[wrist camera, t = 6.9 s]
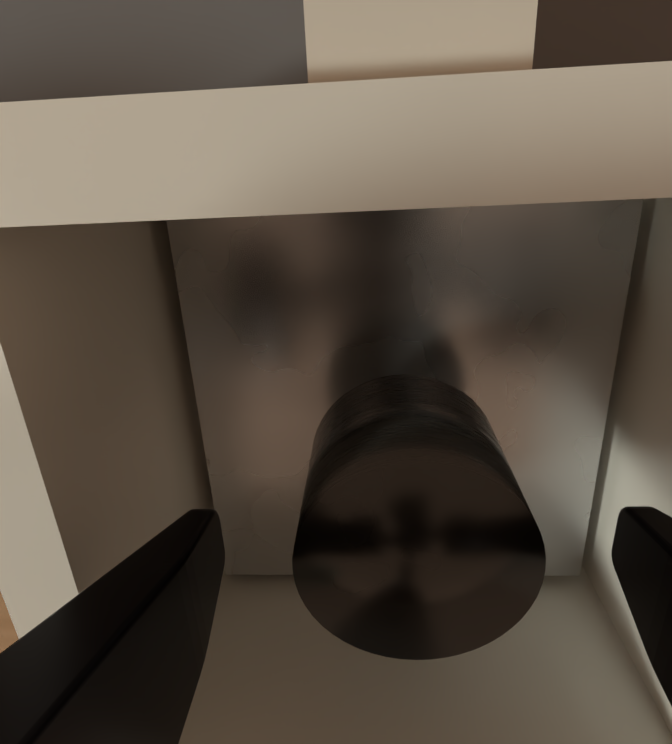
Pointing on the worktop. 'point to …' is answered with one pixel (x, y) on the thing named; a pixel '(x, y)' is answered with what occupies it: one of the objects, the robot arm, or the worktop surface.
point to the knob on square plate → (407, 404)
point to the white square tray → (174, 377)
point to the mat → (256, 43)
